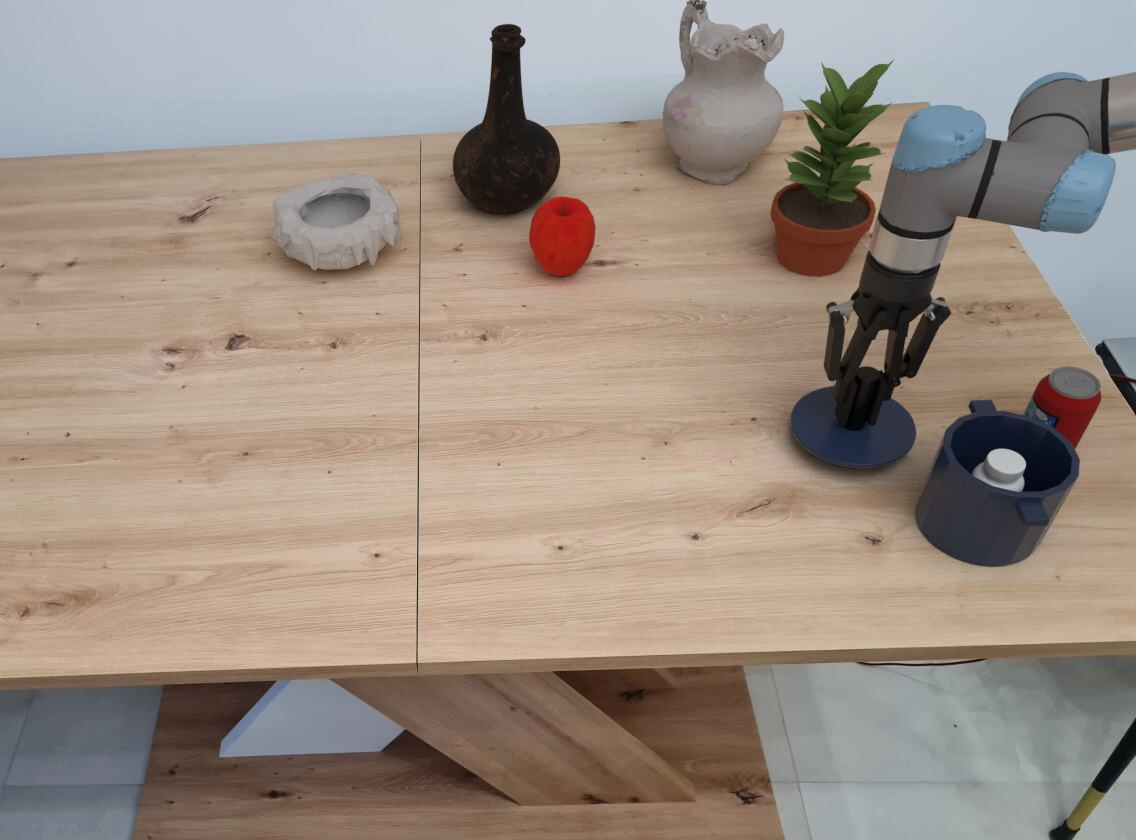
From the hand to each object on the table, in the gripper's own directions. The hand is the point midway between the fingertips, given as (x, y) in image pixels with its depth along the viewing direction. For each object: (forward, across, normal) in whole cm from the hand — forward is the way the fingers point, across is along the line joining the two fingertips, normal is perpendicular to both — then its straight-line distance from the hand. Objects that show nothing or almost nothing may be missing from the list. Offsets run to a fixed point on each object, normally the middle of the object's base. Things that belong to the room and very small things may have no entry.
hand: (854, 418), depth 130 cm
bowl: (+4, +69, -47) cm, 84 cm away
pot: (+5, -12, +14) cm, 19 cm away
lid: (+1, 0, 0) cm, 1 cm away
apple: (+4, +34, -40) cm, 53 cm away
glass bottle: (+4, +42, -62) cm, 75 cm away
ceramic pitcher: (+4, +7, -71) cm, 72 cm away
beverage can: (+5, -22, +3) cm, 23 cm away
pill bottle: (+4, -12, +14) cm, 19 cm away
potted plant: (+4, -4, -41) cm, 42 cm away
